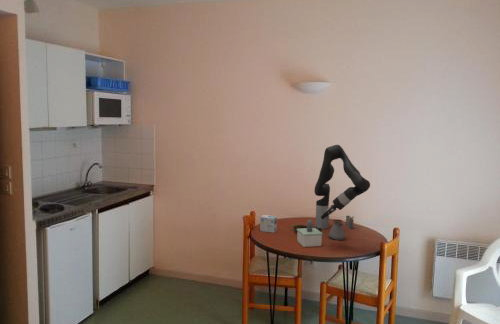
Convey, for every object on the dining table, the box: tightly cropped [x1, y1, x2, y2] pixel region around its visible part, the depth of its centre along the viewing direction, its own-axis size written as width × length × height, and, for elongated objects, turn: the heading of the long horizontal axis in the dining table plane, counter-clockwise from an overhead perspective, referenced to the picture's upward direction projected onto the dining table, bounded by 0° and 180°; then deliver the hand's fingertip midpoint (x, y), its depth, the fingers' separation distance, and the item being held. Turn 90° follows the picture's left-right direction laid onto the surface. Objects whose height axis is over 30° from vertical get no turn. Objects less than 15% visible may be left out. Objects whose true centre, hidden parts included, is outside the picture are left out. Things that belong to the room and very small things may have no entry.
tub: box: [296, 231, 323, 248], centre depth 257 cm, size 12×12×8 cm
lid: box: [296, 219, 324, 236], centre depth 256 cm, size 13×13×9 cm
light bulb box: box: [259, 214, 278, 234], centre depth 285 cm, size 11×7×11 cm, turn 71°
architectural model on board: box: [345, 215, 355, 230], centre depth 299 cm, size 11×3×10 cm, turn 1°
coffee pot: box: [328, 219, 346, 242], centre depth 264 cm, size 21×12×15 cm, turn 178°
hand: (323, 216), depth 252 cm, fingers open, 8 cm apart
